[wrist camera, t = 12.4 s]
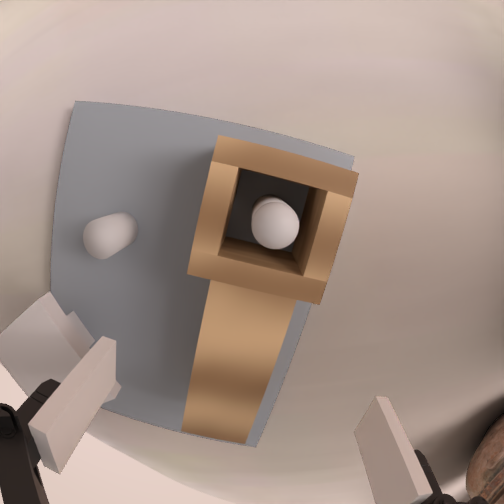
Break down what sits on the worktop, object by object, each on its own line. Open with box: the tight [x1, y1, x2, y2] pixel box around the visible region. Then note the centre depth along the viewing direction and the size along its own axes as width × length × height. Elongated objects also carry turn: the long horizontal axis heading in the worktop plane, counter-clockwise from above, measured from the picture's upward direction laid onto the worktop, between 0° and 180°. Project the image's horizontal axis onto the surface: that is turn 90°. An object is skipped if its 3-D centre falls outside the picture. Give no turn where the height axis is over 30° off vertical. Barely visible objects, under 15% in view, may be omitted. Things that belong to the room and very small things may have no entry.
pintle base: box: [0, 101, 354, 447], centre depth 18 cm, size 26×21×9 cm
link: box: [181, 135, 359, 444], centre depth 19 cm, size 18×7×5 cm, turn 166°
